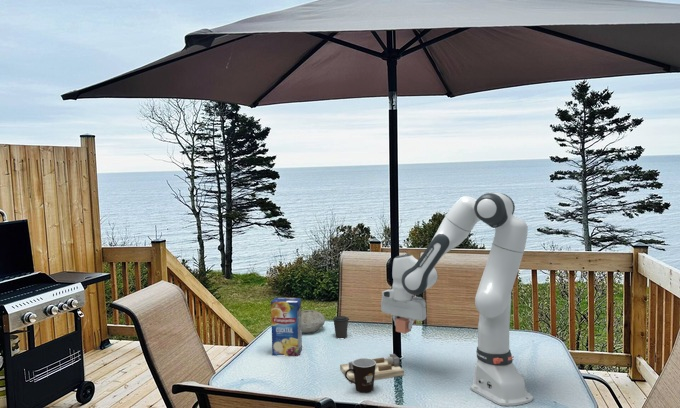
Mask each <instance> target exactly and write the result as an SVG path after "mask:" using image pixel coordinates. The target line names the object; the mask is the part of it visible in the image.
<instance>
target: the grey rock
mask: <svg viewBox="0 0 680 408" xmlns="http://www.w3.org/2000/svg"><path fill="white" fill-rule="evenodd" d="M325 319H326V318H325V315H324V314H323V313H322V312H320V311H318V310H315V309H313V310H311V309H304V310H301V328H302V333H305V334H307V333H312V332H317V331H318V330H320V329H321V328H322V327H323V326H324V325H325V322H326V320H325Z"/></svg>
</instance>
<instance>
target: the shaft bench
mask: <svg viewBox="0 0 680 408" xmlns="http://www.w3.org/2000/svg"><path fill="white" fill-rule="evenodd" d="M371 359H372V360H374V361H375V362H376V367H375V376H374V381H376V380H382V379H383V378H384V379H389V378H396V377H404V376H405V369H403V368H402V367H401V366H400V357H398V356H397V354H395V353H390V354H389V356H387V358H386V357H385V358H384V357H377V358H371ZM353 361H354V360H352V361H349V362H348V363H342V364H340V365H339V366H340V367H339V369H340V371H341V372H342V374H343V375H344V376H345V372H346V371H347V370H348V369H353V363H352V362H353ZM347 378H348V379H349V380H351V381H354V382H355V378H354V372H353V371H348V372H347ZM384 379H383V380H384ZM350 384H353V383H352V382H351V383H350Z"/></svg>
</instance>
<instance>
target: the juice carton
mask: <svg viewBox="0 0 680 408" xmlns="http://www.w3.org/2000/svg"><path fill="white" fill-rule="evenodd" d="M301 311H302V298H300V297H299V298H298V297H275V298H273V299H272V300H271V301H270V314H271V315H270V316H271V317H270V319H271V321H270V322H271V356H277V355H285V356H284V357H299V356H300V354H301V352H302V351H303V335H302V333H303V332H302V328H301Z"/></svg>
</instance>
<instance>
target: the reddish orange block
mask: <svg viewBox="0 0 680 408" xmlns="http://www.w3.org/2000/svg"><path fill="white" fill-rule="evenodd" d="M409 323H410V321H409V318H404V317H400V316H399V317H397V319H396V326H395V332H397V333H401V334H407V333H409V332H411V331H412V329H407V324H409Z"/></svg>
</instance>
